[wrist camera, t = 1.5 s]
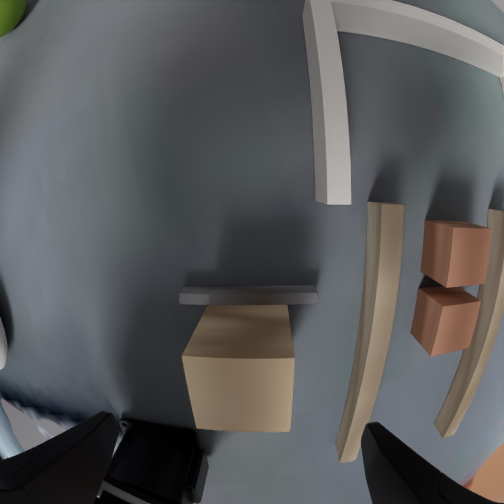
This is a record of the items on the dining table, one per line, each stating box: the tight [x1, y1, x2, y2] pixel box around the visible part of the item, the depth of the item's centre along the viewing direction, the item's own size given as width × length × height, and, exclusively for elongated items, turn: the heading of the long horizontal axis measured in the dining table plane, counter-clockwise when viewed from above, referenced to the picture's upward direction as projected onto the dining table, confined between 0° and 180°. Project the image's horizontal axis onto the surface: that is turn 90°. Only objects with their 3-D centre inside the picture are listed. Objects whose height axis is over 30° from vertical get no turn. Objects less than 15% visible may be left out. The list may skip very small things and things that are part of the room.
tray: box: [302, 0, 504, 205], centre depth 11 cm, size 16×11×3 cm
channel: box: [336, 202, 504, 463], centre depth 14 cm, size 10×18×2 cm, turn 2°
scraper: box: [178, 285, 318, 432], centre depth 13 cm, size 7×5×6 cm, turn 92°
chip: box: [421, 220, 492, 288], centre depth 13 cm, size 3×3×3 cm
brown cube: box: [411, 286, 481, 356], centre depth 13 cm, size 3×3×3 cm
